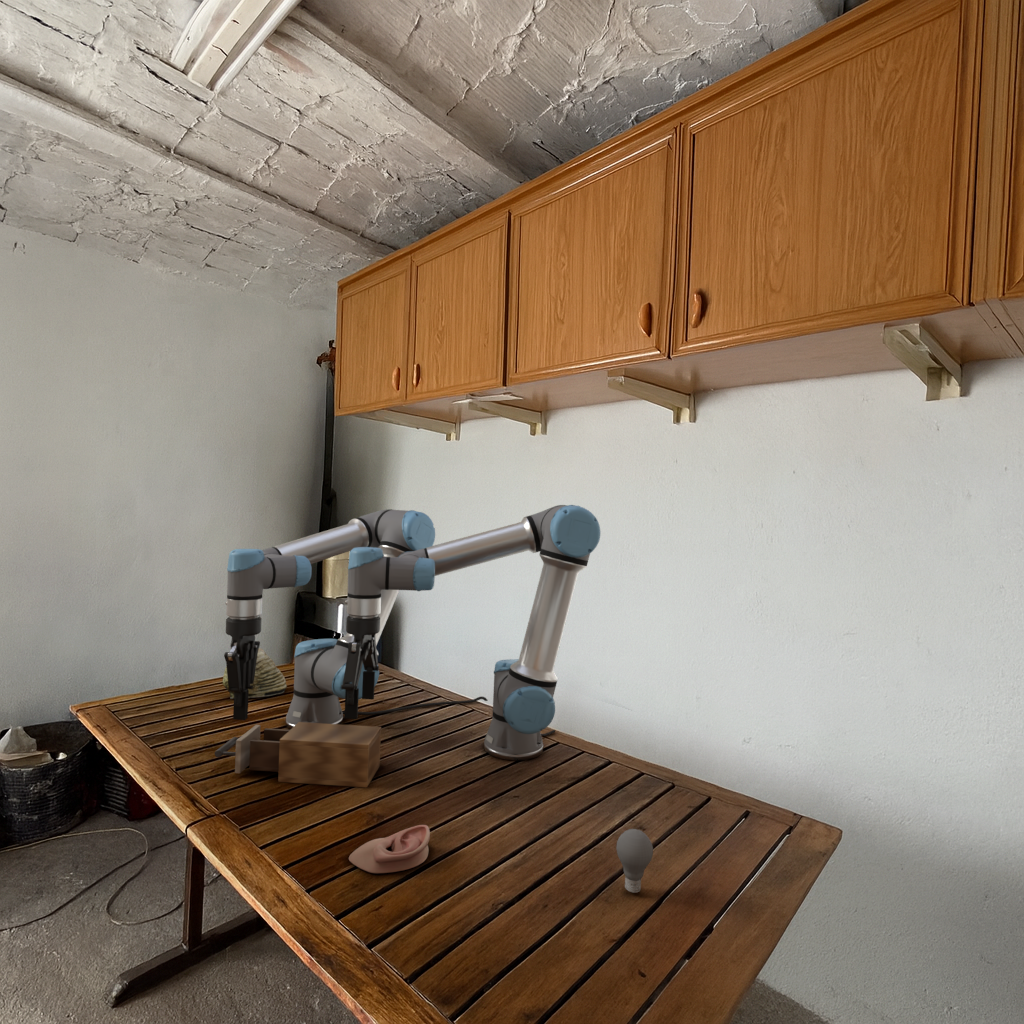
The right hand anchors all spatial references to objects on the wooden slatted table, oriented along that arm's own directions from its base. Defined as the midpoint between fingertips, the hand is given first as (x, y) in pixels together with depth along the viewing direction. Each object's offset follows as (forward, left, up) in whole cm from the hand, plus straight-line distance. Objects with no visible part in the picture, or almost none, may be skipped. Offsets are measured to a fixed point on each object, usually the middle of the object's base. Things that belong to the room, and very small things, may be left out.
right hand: (359, 708), depth 144 cm
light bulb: (-34, +58, -16) cm, 70 cm away
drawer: (+17, -9, -14) cm, 24 cm away
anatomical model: (+1, +35, -16) cm, 38 cm away
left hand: (+25, -13, -4) cm, 28 cm away
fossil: (+19, -67, -16) cm, 72 cm away
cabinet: (+6, -3, -16) cm, 17 cm away
